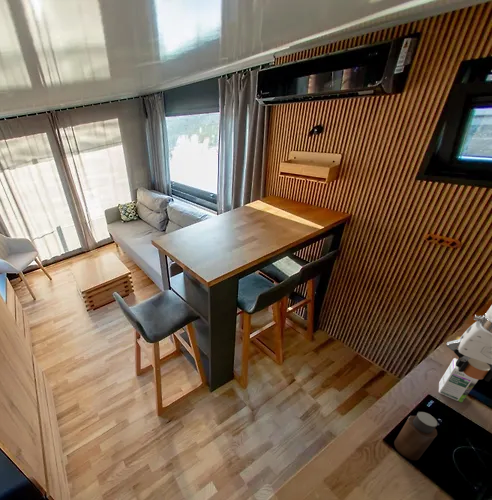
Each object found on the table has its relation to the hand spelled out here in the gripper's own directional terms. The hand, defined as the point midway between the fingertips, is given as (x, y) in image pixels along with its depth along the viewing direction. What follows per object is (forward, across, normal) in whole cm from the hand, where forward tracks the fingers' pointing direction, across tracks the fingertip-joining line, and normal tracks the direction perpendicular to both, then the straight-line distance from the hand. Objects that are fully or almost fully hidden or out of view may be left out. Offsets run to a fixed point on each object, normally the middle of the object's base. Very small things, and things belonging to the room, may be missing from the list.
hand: (472, 372), depth 72 cm
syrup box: (+29, +4, +18) cm, 35 cm away
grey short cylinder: (+15, -6, -14) cm, 21 cm away
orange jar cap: (0, 0, 0) cm, 0 cm away
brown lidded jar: (+29, -6, -14) cm, 33 cm away
